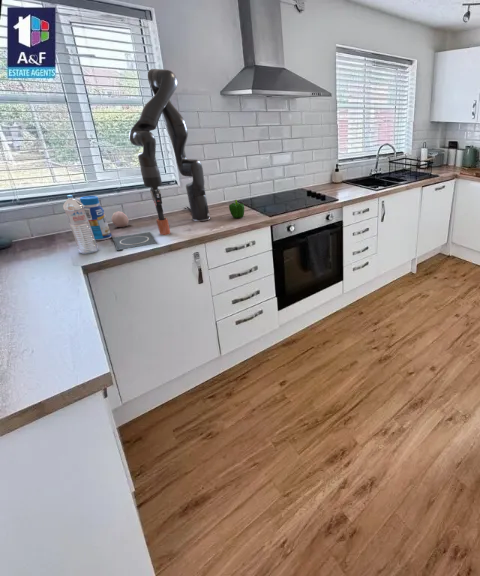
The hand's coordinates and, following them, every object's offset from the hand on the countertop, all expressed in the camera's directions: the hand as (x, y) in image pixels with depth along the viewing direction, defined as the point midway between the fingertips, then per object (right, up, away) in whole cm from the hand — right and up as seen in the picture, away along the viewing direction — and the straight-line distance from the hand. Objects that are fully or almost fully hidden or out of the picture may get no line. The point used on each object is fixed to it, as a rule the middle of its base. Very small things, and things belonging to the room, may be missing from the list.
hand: (159, 211), depth 183 cm
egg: (-29, -6, +14) cm, 32 cm away
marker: (0, -7, +4) cm, 8 cm away
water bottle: (-21, -22, -18) cm, 35 cm away
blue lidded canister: (-27, -14, -2) cm, 30 cm away
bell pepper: (+25, +8, +35) cm, 43 cm away
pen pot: (0, -11, +6) cm, 12 cm away
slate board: (-9, -16, -5) cm, 19 cm away
